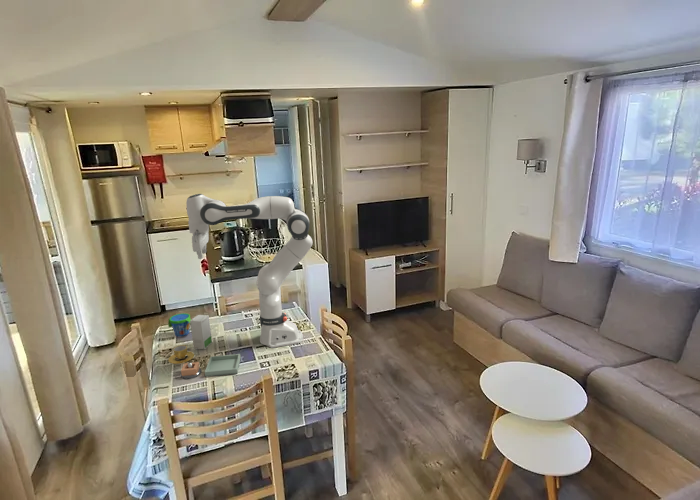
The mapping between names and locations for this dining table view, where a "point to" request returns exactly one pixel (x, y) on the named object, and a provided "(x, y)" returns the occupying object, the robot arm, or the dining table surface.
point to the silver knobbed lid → (191, 375)
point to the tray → (223, 365)
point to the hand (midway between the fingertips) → (202, 255)
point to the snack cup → (180, 324)
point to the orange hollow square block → (190, 369)
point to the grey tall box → (201, 331)
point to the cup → (180, 354)
